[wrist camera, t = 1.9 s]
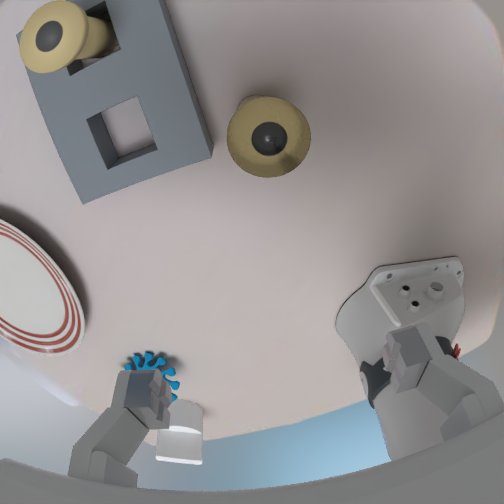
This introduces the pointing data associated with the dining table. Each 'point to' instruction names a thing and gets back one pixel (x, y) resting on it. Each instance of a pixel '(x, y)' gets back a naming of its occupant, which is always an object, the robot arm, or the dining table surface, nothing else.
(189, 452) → the white toy chair
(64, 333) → the dinner plate
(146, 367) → the gear
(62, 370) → the dining table surface
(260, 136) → the bushing
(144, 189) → the dining table surface
